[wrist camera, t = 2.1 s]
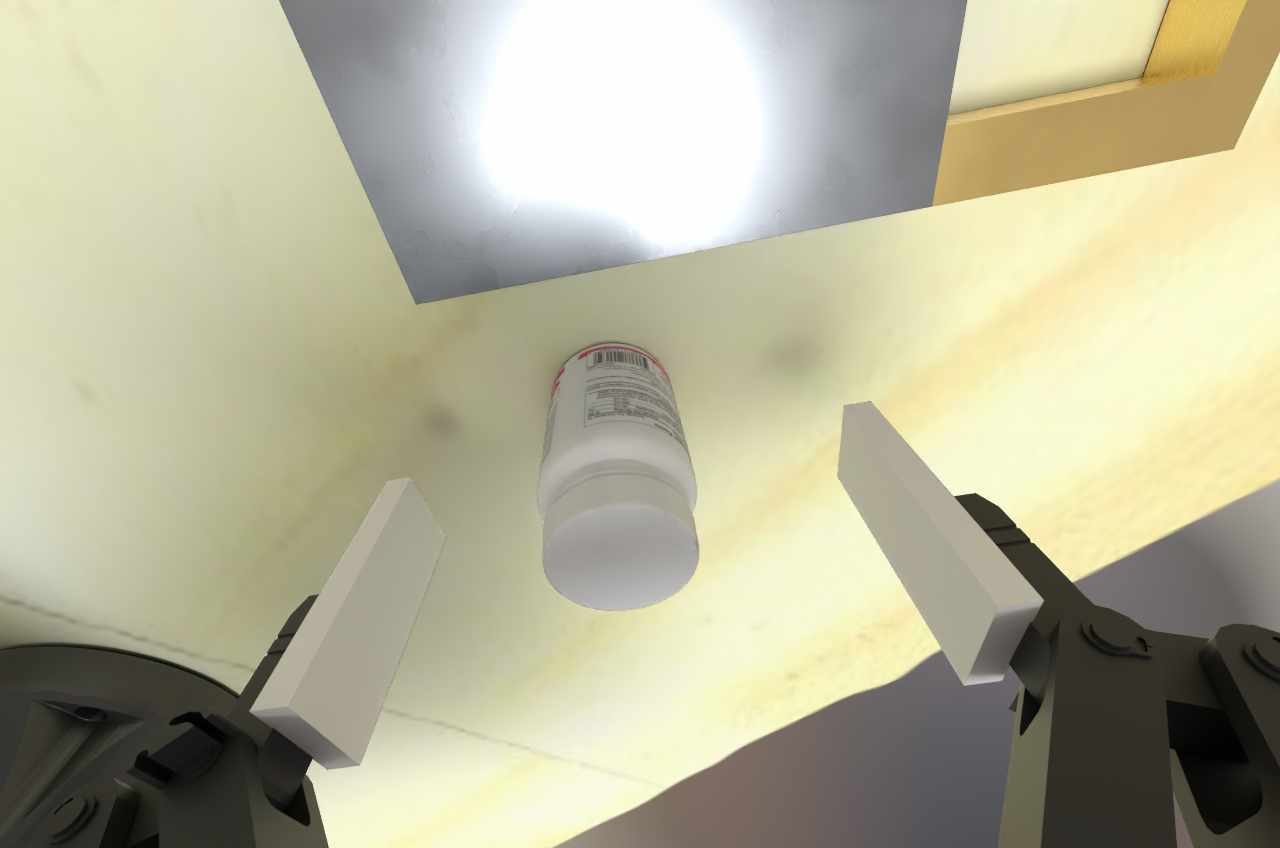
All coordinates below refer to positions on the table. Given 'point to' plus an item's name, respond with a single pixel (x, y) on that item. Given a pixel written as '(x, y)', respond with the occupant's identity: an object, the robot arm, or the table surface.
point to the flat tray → (718, 121)
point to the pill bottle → (616, 483)
